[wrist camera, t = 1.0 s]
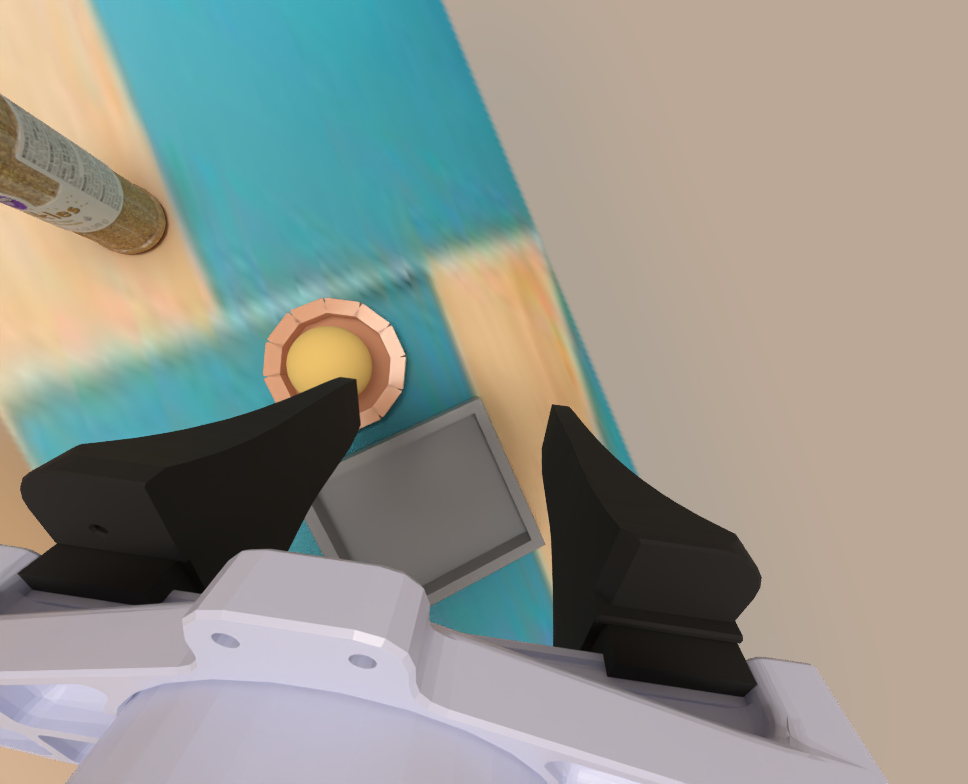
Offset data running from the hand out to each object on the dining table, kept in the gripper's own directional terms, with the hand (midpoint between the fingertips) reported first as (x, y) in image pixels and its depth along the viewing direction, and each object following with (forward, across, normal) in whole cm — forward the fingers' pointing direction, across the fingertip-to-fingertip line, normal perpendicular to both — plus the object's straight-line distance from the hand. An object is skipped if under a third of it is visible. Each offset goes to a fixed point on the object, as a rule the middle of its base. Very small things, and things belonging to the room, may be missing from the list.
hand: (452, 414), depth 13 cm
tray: (+8, +3, +14) cm, 16 cm away
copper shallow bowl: (+11, +10, +5) cm, 16 cm away
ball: (+11, +10, +4) cm, 15 cm away
